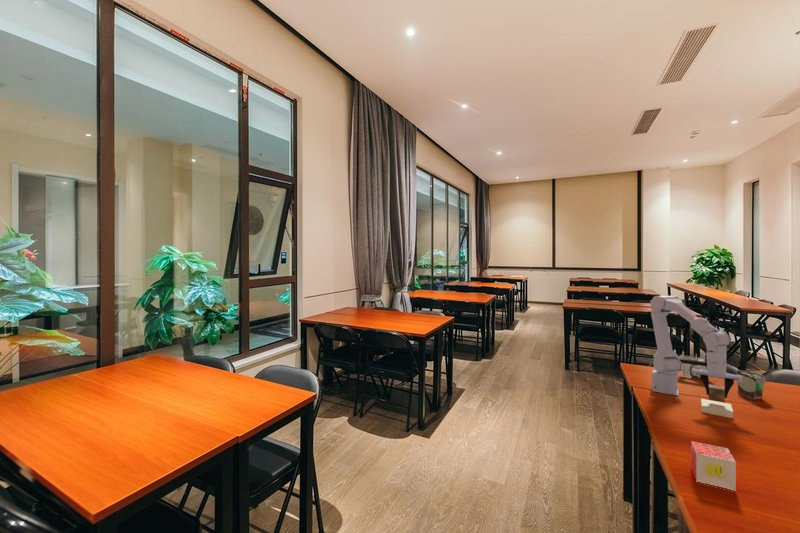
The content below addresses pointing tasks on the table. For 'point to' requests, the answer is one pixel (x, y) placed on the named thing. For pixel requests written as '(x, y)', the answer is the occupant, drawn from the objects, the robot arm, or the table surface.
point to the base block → (716, 408)
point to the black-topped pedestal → (692, 364)
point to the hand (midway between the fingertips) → (716, 395)
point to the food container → (751, 384)
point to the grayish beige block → (716, 393)
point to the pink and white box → (713, 465)
